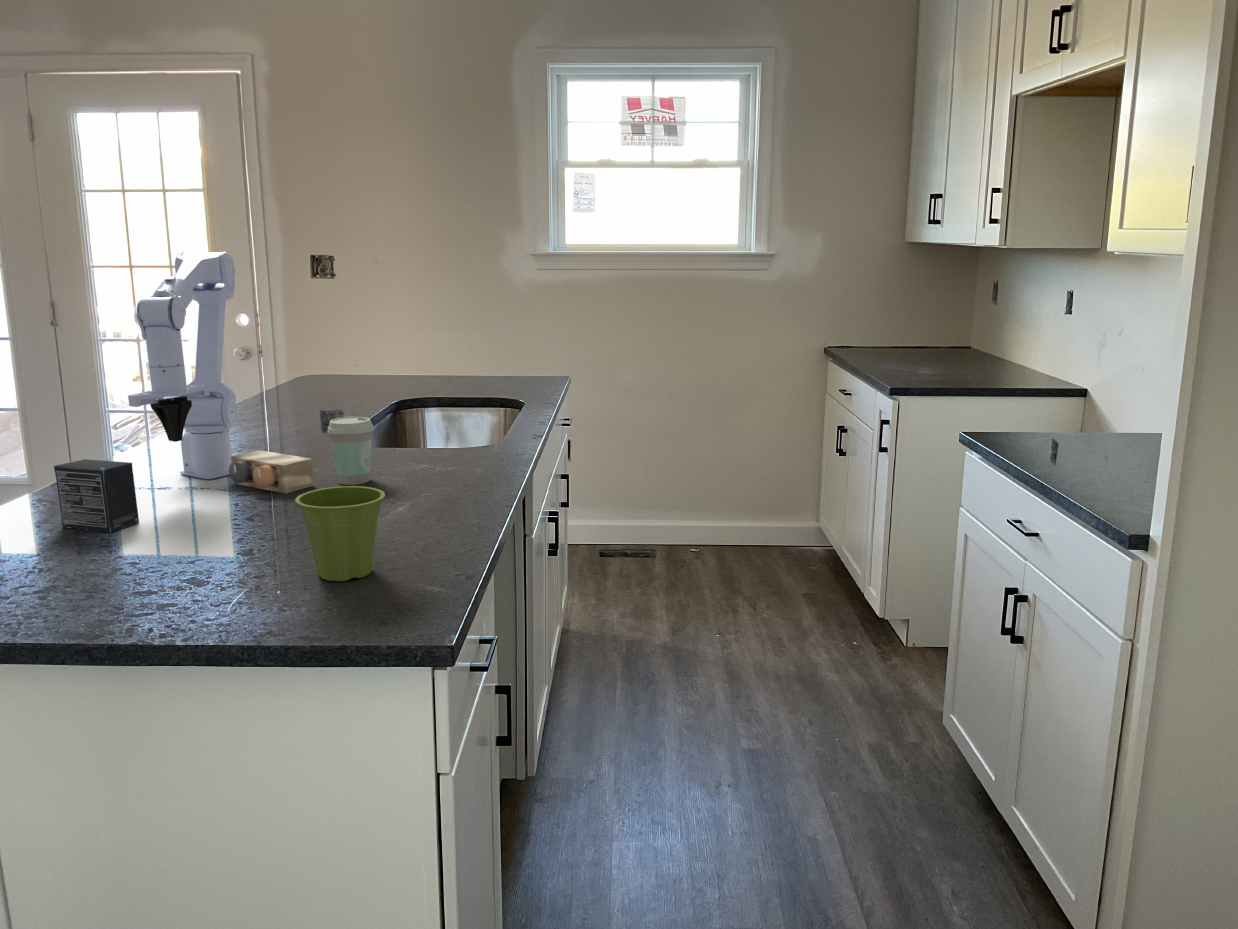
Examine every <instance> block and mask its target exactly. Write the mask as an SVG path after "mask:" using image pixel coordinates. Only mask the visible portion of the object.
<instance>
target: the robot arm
mask: <svg viewBox="0 0 1238 929" xmlns="http://www.w3.org/2000/svg"><path fill="white" fill-rule="evenodd" d="M174 271H175V273H174V276H166V277H165V278H164V280H163V281H162V282H161V283H160V284H159V286H158V287H157V288H156V290H155V291H154V292H153V293H152V295H151V296H145V297H143V298H142V299H141V300H139V301H137V304H136V305H137V306H136V314H135V315H136V321H137V323H138V326H139V328H140V332H141V337H142V339H143V341H145V344H146V353H147V362H148V368H149V377H150V378H149V379H150V386H151V390H148V391H143V392H139V393H133V394H128V395H127V398H128V400H127V401H128V406H129V407H134V408H138V407H142V406H146V405H149V406H150V408H151V409H152V411H153V412H154V414H155V415H156V416H157V417H158V419H159V422H161V424H162V427H163V429H164V431H165V434H166V437H167V439H168V441H170V442H175V443H177V442H180V446H181V447H180V448H181V455H182V456H181V457H182V464H183V470H182V471H180V475H185V476H189V477H194V478H200V479H204V480H213V479H217V478H222V477H226V476H230V475H229V466H230V464H231V456H233V454H232V442H231V435H230V433H231V432H230V429H232V428H233V427H234V426H235V424H236V423H237V420H238V407H237V403H236V402H237V401H236V399H237V397H236V394H235V392H234V390H233V389H232V388H231V387H230V386H229V385H227V384H226V383H224V382H223V381H222V378H223V375H222V373H223V358H224V338H225V337H224V335H225V318H226V317H225V315H226V306H227V302H228V301H229V300H230V299H232V298H234V294H235V288H236V286H235V284H236V267H235V264H234V259H233V257H232V255H231V254H230V253H229V252H227V251H222V252H221V251H220V252H185V251H180V252H178V254H177V256H176V257H175V260H174ZM192 301H195V302H197V305H198V319H197V332H196V333H197V336H196V352H195V353H196V355H195V372H194V373H195V374H194V379H193V380H192V381H191V382H190V383H188V384H187V377H186V367H185V361H184V360H185V358H184V351H183V341H182V333H181V330H182V329H183V328H184V326H185V321H186V320H185V319H186V315H187V308H188V307H189V305H190V304H191V303H192ZM184 429H185V430H186V431H185V432H184Z"/></svg>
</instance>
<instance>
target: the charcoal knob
mask: <svg viewBox="0 0 1238 929" xmlns="http://www.w3.org/2000/svg"><path fill="white" fill-rule="evenodd" d="M228 476H229V478H230V480H232V482H235V483H242V482H246V481H248V480H249V479H250V477H253V473H252V463H251V462H248V463H246V462H245V461H238V462H234V463H231V464H230V466H229V475H228Z"/></svg>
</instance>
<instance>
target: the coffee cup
mask: <svg viewBox="0 0 1238 929" xmlns="http://www.w3.org/2000/svg"><path fill="white" fill-rule="evenodd" d="M374 429H375V428H374V425H373V423H372V420H371V418H369V417H365V416H345V417H344V416H343V417H338V418H333V419H330V421H329V424H328V426H327V433H328V434H329V438H330V444H331V448H332V455H333V459H334V463H335V464H334V465H335V469H336V475H337V480H338V484H341V485H344V486H358V485H363V484H365V483H368V482H370V481H371V467H372V466H371V465H372V464H371V462H372V444H373V443H372V442H373V431H374Z"/></svg>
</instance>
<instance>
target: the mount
mask: <svg viewBox="0 0 1238 929" xmlns="http://www.w3.org/2000/svg"><path fill="white" fill-rule="evenodd" d="M238 461H245V462H246V463H248V462H251V463H252V473H253V472H254V469H255V468H256V467H260V466H264V465H269V466H270V467H273V466H274V467H276V469H277V480H278V481H276V482H275V483H274V485H272V486H269V487H265V488H260V487H258V486H257V485H256V483H255V481H254V478H253V477H250V479H249V480H248V481H246V482H242V483H235V482H233V481H232V482H233V484H234V485H235V484H236V485H240V486H245V487H250V488H255V489H260V490H261V489H262V490H266V491H270V492H276V493H281V494H289V493H293V492H296V491H299V490H304V489H308V488H312V487H314V473H313V472H314V471H313V462H312V461H313V460H312V458H311V457H310V458H309V457H304V456H299V455H298V456H297V455H292V454H285V453H279V452H273V451H272V452H271V451H266V450H260V449H258V450H254V451H250V452H246V453H245V452H244V453H240V454H236V455H232V456H231V463H234V462H238Z"/></svg>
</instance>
